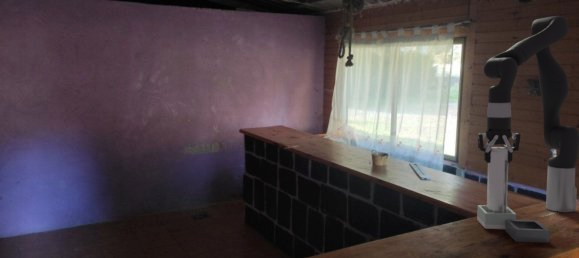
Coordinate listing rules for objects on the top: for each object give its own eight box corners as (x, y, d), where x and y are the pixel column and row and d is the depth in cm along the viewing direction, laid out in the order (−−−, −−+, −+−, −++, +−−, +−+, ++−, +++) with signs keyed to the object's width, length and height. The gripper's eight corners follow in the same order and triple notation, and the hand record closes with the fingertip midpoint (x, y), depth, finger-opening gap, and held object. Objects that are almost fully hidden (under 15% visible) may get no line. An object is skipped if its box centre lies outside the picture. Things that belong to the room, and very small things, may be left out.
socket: (536, 231, 148) (537, 220, 147) (549, 242, 138) (549, 230, 137) (505, 231, 149) (505, 219, 149) (515, 241, 139) (516, 229, 139)
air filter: (502, 213, 159) (504, 146, 156) (509, 219, 152) (511, 149, 150) (483, 213, 160) (485, 146, 157) (490, 219, 153) (492, 149, 150)
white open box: (506, 220, 160) (506, 205, 160) (515, 229, 150) (516, 214, 150) (477, 219, 162) (477, 205, 161) (484, 228, 152) (485, 213, 151)
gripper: (517, 114, 155) (515, 160, 156) (474, 115, 157) (473, 160, 159) (525, 116, 147) (523, 164, 149) (480, 116, 149) (479, 164, 151)
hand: (497, 162), depth 154 cm, fingers closed on air filter, 6 cm apart
